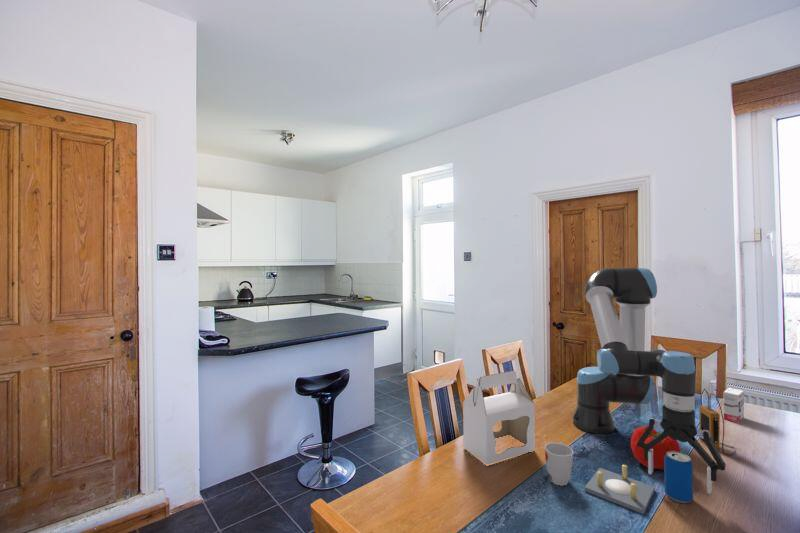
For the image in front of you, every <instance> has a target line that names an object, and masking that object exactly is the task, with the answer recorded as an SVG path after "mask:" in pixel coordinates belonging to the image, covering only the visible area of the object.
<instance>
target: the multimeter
mask: <svg viewBox="0 0 800 533" xmlns="http://www.w3.org/2000/svg"><path fill="white" fill-rule="evenodd" d="M704 391H705V393H706V394H707V406H706V405H703V403H702V400H700V404H701V405H699V407H698V408H699V410H698V412H699V414H698V415H699V416H698V417H699V421H698V424H697V426H695V427H696V429H699V430H705V429H708V430H709V431H710V437H711V440H712V441H713V443H714V445H715V447H716V448H717V450H720V445H722V446H721V448H722V453H723V454H724V455H727V456H733V455H734V454H735V452H736V450H735V449H738V450H742V449H741V448H738V447H735V446H734V445H729V444H726V443H724V439H725V438H724V437H725V419H724V413H723V411H722V407H721V404H720V401H719V400H718V397H717V396H716V394H714V393H710V394H709V392H708V391H707V390H706V388H703V390H702V392H701V395H700V398H702V396H703V395H704ZM711 396H714V397H715V399H716V401H717V404H718V406H719V410H720V413H721V416H720V413H719V412H718V411H716V410H715V409H713V408H712V405H711V399H712V398H711ZM720 417H721V418H722V426H723V430H722V443H721V442H720V435H721V434H720V433H721V432H720V426H721V425H720V424H721V423H720V421H721V420H720ZM698 427H699V428H698ZM696 436H697V437H699V440H700V442H701V443H703V444H705V445H706V443H705V441H704V439H702V438H701V437H700V435H699V434H696ZM724 446H725V447H729V448H732V449H733V450H732V452H731V454H728V453H725V451H724V450H725V449H724Z"/></svg>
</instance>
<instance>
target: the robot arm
mask: <svg viewBox="0 0 800 533" xmlns="http://www.w3.org/2000/svg"><path fill="white" fill-rule="evenodd" d="M657 293H658V285H657V281H656V277H655V274H654V273H653V272H652V270H650V269H649V268H645V267H642V268H641V267H624V268H623V267H622V268H621V267H616V268H613V267H606V268H602V269H599V270H597V271H595V272H593V273H592V275H591V276H589V278H588V279H587V281H586V283H585V286H584V295H585V300H586V301H587V302H588V304H589V305H590V307H591V308H590V309H591V312H592V315H593V320H594V324H595V328H596V331H597V335H598V340H599V342H600V347H601V348H600V349H598V350H597V353H596V361H597V362H596V363H597V366H586V367H583V368H581V369H579V370H578V372H577V374H576V376H577V377H576V386H577V390H576V391H577V393H576V394H577V397H576V398H577V399H576V400H577V405H576V406H575V407H576V408H575V410H574V413H573V416H572V423H573V425H574V426H575V427H577V428H578V429H579V430H582V431H584V432H589V433H592V434H593V433H594V434H609V433H612V432H614V431H615V422H614V419H613V416H612V414H611V413H612V412H611V410H610V403H618V404H619V403H620V404H629V405H649V404H650V403H652V401H653V399H654V396H655V391H656V390H655V388H656V387H655V386H656V385H655V381H654V378H653V377H658V378H659V377H660V378H661V389H662V390H661V393H662V394H661V395H662V396H661V403H662V404H663V405H662V407H661V409H662V411H661V412H662V413H661V414H662V415H661V417H662V419H661V420H660V419H656V417H655V416H651V417H650V419H649V421H648V428H647V429H646V431H645V432H644V434H643V435H642V436H641V438H640V439H639V441H638V442H637V446H639V447H642V448H643V449H644V459H645V461H648V467H647V471H648V472H647V473H648V474H649V475H652V474H653V472H654V469H653V449H651V448H652V447H654V446H655V445H656V444H658V443H659V442H660V441H662V440H663V439H665V438H667V437H668V436H669V437H670V438H671V439H673V440H677V441H678V442H681V443H688V444H689V446H691V447H692V448H693V449H694V450H695V451H696V453H697V454H698V455H699V456H700V457H701V459H702V460H703V461H704V462H705V463H706V465H707V468H706V491H707V492H706V493H707V494H710V495H712V490H713V485H712V484H713V482H714V483H715V482H717V479H718V471H720V470H721V471H725V470H726V466H727V464H726V462H725V460H724V459H723V458H722V455H721V453H720V451H719V449H717V448H716V447H715V445H714V443H713V441H712V440H711V437H710V431H709V430H708V429H705V430H699V428H697V429H696V427H697V426H696V412H695V409H696V392H695V390H696V389H695V387H696V377H695V376H696V375H695V374H696V365H695V357H694V356H693V355H692V354H690V353H688V352H687V353H686V352H684V351H683V352H682V351H675V350H669V351H666V350H664V349H661V348H660V349H659V348H655V349H652V350H645V347H646V346H645V344H646V340H645V339H646V308H647V307H648V306H650V305H651V300H652V299H655V298H656V297H657ZM613 299H615V303H616V304H618V305H619V316H618V313H617V310H616V308H615V305H614V301H613ZM658 426H660V427H661V428H662V430H663V431H661V432H660V434H659V435H658V436H657V437H655V438H654V439H652V440H651V441H650V442H648V443H644V441H645V440H646V438H647V437H648V435H649V434H650V432H651V431H652V430H653V429H655V428H657V427H658ZM697 435H700V436H699V438H700V437H701V438H702V439H704V441H705V443H706V444H705V443H704V444H705V445H706V447H707V449H708V450H709V452H710V454H711V456H710V454H709V453H708V452H707V451H706V450H705V449H704V447H703V446H702V445H701V444H700V442H698V440H697V438H696V437H695V436H697ZM712 457H713V458H712Z"/></svg>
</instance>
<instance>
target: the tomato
mask: <svg viewBox="0 0 800 533" xmlns="http://www.w3.org/2000/svg"><path fill="white" fill-rule="evenodd" d="M648 426H649V425H648ZM648 426H647V425H643V424H641V427H637V428H636V429H634V430H633V433H632V436H631V438H630V448H631V452H632V454H633V457H634V458H635V459H636V461H638V462H639V463H640V464H642V465H643V466H644V467H646V468H648V461H645V459H644V449H643V448H642V447H639V446H637V442H638V441H639V439H640V438H641V436H642V435H643V434H644V432H645V431H646V429H647V428H648ZM659 434H661V431H657V430H656V429H655V428H653V430H652V431H651V432H650V434H649V435H648V437H647V438H646V440H645V441H644V443H648V442H650V441H651V440H652V439H654V438H655V437H657V436H658V435H659ZM651 449H653V470H658V469H659V470H662V471H665V455H666V453H667V452H668V451H676V452H680V453H682V452H681V446H680V444H679V440H673V439H671V438H670V437H669V436H668V437H667V438H665V439H663V440H662V441H660V442H659V443H658V444H656V445H655V446H654V447H652V448H651Z"/></svg>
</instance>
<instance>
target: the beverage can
mask: <svg viewBox="0 0 800 533" xmlns="http://www.w3.org/2000/svg"><path fill="white" fill-rule="evenodd" d="M680 452H681V451H680ZM680 452H676V451H668V452H667V453H666V455H665V470H664V494H666V495H667V496H668V498H670V499H671V500H673V501H675V502H678V503H683V504H688V503H689V502H692V501H693V499H694V498H693V497H694V495H693V493H694V490H693V488H694V486H693V483H694V482H693V480H694V475H693V474H694V473H693V472H694V470H693V468H694V466H693V465H694V464H693V462H692V459H691V457H690V456H689V455H688V454H685V453H683V452H681V453H680Z"/></svg>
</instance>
